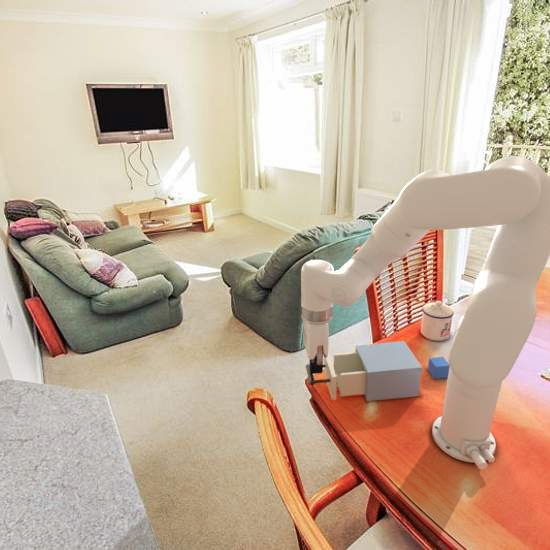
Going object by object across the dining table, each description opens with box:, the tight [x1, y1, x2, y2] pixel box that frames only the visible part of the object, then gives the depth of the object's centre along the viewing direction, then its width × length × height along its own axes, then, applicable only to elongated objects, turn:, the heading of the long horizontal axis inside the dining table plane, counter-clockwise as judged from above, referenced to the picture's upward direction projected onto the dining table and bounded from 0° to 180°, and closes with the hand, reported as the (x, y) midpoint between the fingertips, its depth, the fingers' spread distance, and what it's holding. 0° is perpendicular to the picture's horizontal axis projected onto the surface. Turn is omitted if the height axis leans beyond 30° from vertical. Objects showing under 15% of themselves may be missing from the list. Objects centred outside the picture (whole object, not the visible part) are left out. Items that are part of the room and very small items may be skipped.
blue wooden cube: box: [427, 356, 450, 380], centre depth 102 cm, size 4×4×4 cm
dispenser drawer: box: [305, 351, 367, 401], centre depth 98 cm, size 18×10×7 cm, turn 94°
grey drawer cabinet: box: [354, 340, 423, 402], centre depth 99 cm, size 14×12×9 cm
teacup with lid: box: [420, 300, 455, 342], centre depth 119 cm, size 12×9×12 cm
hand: (316, 371), depth 98 cm, fingers closed
